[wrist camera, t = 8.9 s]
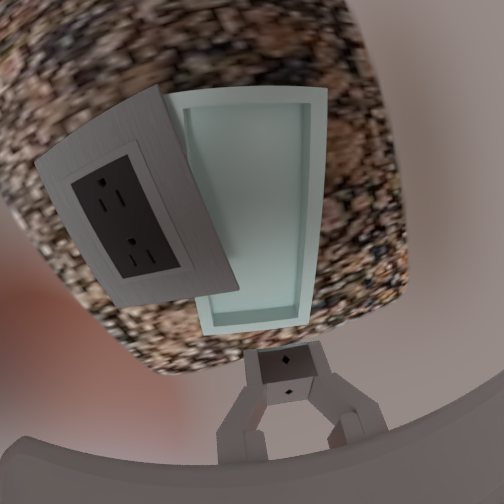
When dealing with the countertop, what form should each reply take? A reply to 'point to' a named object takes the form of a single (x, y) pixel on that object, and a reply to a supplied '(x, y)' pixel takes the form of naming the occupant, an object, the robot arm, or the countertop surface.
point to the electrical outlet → (136, 206)
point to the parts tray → (258, 196)
